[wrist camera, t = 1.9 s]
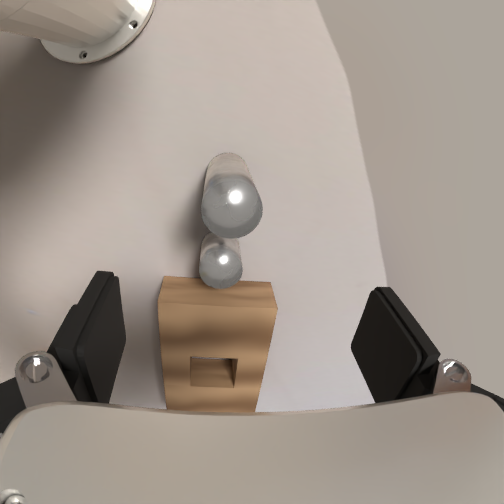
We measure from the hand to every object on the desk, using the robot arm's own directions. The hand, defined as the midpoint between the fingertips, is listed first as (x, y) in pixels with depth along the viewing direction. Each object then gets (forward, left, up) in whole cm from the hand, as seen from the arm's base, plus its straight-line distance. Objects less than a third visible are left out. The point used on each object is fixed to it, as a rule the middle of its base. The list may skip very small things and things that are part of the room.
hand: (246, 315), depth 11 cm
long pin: (0, 0, -22) cm, 22 cm away
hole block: (+22, 0, -22) cm, 31 cm away
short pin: (+8, 0, -22) cm, 23 cm away
